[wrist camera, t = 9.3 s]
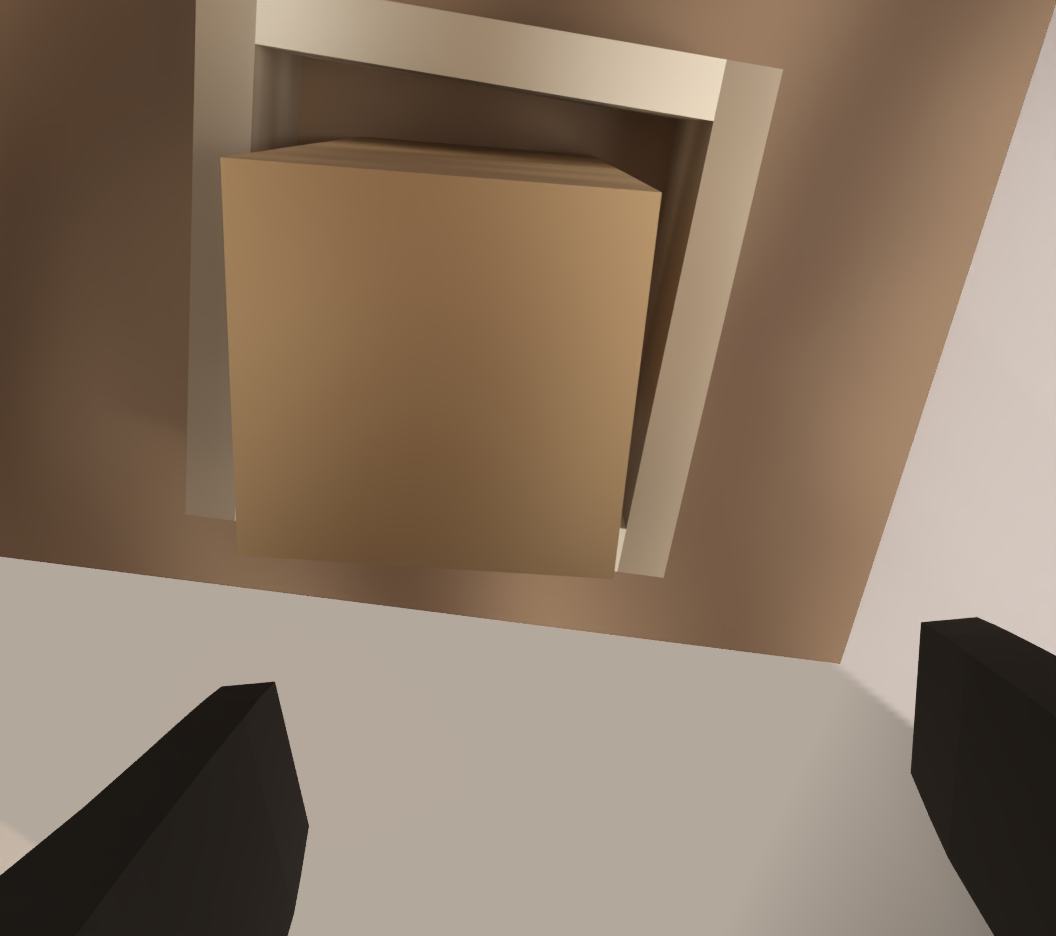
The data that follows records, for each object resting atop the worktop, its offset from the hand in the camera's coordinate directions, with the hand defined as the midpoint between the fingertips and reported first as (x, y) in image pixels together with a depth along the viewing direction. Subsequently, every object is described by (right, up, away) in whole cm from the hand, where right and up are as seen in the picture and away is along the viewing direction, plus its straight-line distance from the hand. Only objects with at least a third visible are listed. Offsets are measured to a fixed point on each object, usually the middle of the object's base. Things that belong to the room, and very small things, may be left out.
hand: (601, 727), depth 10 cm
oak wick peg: (-2, +7, +6) cm, 9 cm away
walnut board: (-2, +7, +7) cm, 10 cm away
